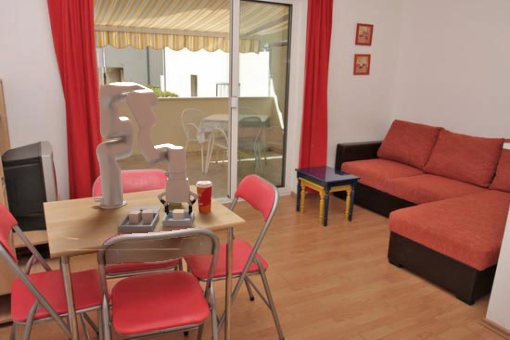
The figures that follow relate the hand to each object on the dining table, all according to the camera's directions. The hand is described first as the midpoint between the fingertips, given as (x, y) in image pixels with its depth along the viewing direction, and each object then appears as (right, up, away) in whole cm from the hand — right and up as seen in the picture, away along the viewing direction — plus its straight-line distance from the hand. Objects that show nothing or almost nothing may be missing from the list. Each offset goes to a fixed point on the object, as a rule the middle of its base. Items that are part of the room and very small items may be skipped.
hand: (178, 213), depth 174 cm
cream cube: (0, -3, +1) cm, 3 cm away
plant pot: (-6, +2, +23) cm, 24 cm away
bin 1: (-16, -5, -4) cm, 17 cm away
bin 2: (0, -4, +1) cm, 4 cm away
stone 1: (-19, -3, 0) cm, 19 cm away
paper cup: (+9, -1, +15) cm, 18 cm away
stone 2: (-13, -3, 0) cm, 14 cm away
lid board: (-18, -1, +12) cm, 22 cm away
